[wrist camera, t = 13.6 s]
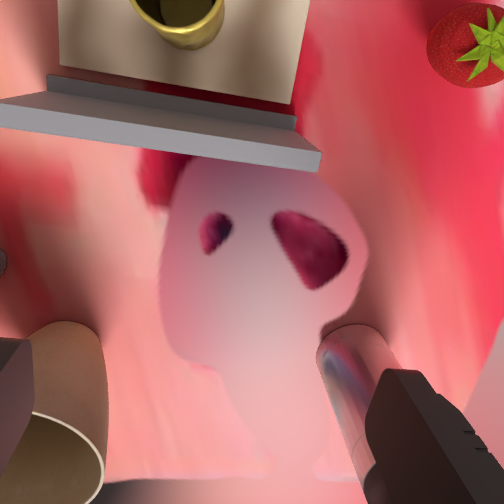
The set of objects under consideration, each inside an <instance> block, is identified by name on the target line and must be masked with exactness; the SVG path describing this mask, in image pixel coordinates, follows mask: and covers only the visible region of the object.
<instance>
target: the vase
mask: <svg viewBox="0 0 504 504" xmlns="http://www.w3.org/2000/svg"><path fill="white" fill-rule="evenodd" d="M129 1H130V3H131V5H132V6H133V8H134V9H135V10H136V12H137V13H138V14H139V16H140V17H141V18H142V19H143V20H144V21H146V22H147V23H149V24H150V25H151V26H153V27H154V28H155V29H156V30H157V31H158V33H159V34H160V36H161V37H162V39H164V40H165V41H166V42H168V43H169V44H170V45H172V46H174V47H176V48H178V49H182V50H191V51H193V50H198V49H201V48H203V47H205V46H207V45H208V44H209V43H211V42H212V41H213V40H214V39H215V38H216V36H217V35H218V33H219V31H220V29H221V27H222V25H223V22H224V16H225V5H224V0H129Z"/></svg>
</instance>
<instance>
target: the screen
mask: <svg viewBox="0 0 504 504" xmlns="http://www.w3.org/2000/svg"><path fill="white" fill-rule="evenodd" d="M46 77H47V91H43V92H38V93H32V94H27V95H22V96H17V97H11V98H6V99H1V100H0V127H2V128H9V129H16V130H23V131H30V132H37V133H44V134H51V135H58V136H65V137H72V138H79V139H86V140H93V141H100V142H107V143H113V144H120V145H127V146H134V147H141V148H148V149H155V150H162V151H169V152H176V153H183V154H190V155H197V156H204V157H211V158H218V159H224V160H231V161H239V162H245V163H252V164H259V165H266V166H273V167H280V168H287V169H295V170H301V171H308V172H315V173H317V172H318V168H319V164H320V160H321V155H322V152H321V151H320V150H318V149H317V148H316V147H315V146H313V145H312V144H311V143H309V142H308V141H307V140H306V139H304V138H303V137H302V136H301V135H299V134H298V133H297V132H296V131H294V130H295V125H296V120H297V117H296V116H294V115H288V114H283V113H277V112H271V111H265V110H259V109H253V108H247V107H241V106H235V105H229V104H223V103H217V102H211V101H205V100H199V99H193V98H187V97H181V96H175V95H169V94H163V93H157V92H151V91H145V90H140V89H134V88H128V87H122V86H116V85H110V84H104V83H98V82H92V81H86V80H80V79H74V78H68V77H62V76H56V75H46Z"/></svg>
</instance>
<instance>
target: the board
mask: <svg viewBox="0 0 504 504" xmlns="http://www.w3.org/2000/svg"><path fill="white" fill-rule="evenodd" d="M309 4H310V0H224V5H225V16H224V22H223V25H222V27H221V29H220V31H219V33H218V35H217V36H216V38H215V39H214V40H213V41H212V42H211V43H209V44H208V45H207V46H205V47H203V48H201V49H198V50H193V51H191V50H182V49H178V48H176V47H174V46H172V45H170V44H169V43H168V42H166V41H165V40H164V39H162V37H161V36H160V34H159V33H158V31H157V30H156V29H155V28H154V27H153V26H151V25H150V24H149V23H147V22H146V21H144V20H143V19H142V18H141V17H140V16H139V14H138V13H137V12H136V10H135V9H134V8H133V6H132V5H131V3H130V1H129V0H57V5H58V33H59V62H60V65H63V66H69V67H75V68H81V69H87V70H92V71H98V72H104V73H110V74H116V75H121V76H127V77H133V78H139V79H145V80H151V81H156V82H162V83H168V84H174V85H180V86H185V87H191V88H197V89H203V90H209V91H214V92H220V93H226V94H232V95H238V96H243V97H249V98H255V99H261V100H267V101H272V102H278V103H284V104H290V101H291V96H292V91H293V86H294V81H295V75H296V70H297V65H298V60H299V55H300V50H301V45H302V40H303V34H304V29H305V24H306V19H307V14H308V9H309Z"/></svg>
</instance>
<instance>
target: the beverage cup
mask: <svg viewBox="0 0 504 504" xmlns="http://www.w3.org/2000/svg"><path fill="white" fill-rule="evenodd" d="M6 266H7V258H6V256H5V254H4V252H3V251H2V250H1V248H0V276H1V274H2V273H3V271H4V270H5V268H6Z"/></svg>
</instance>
